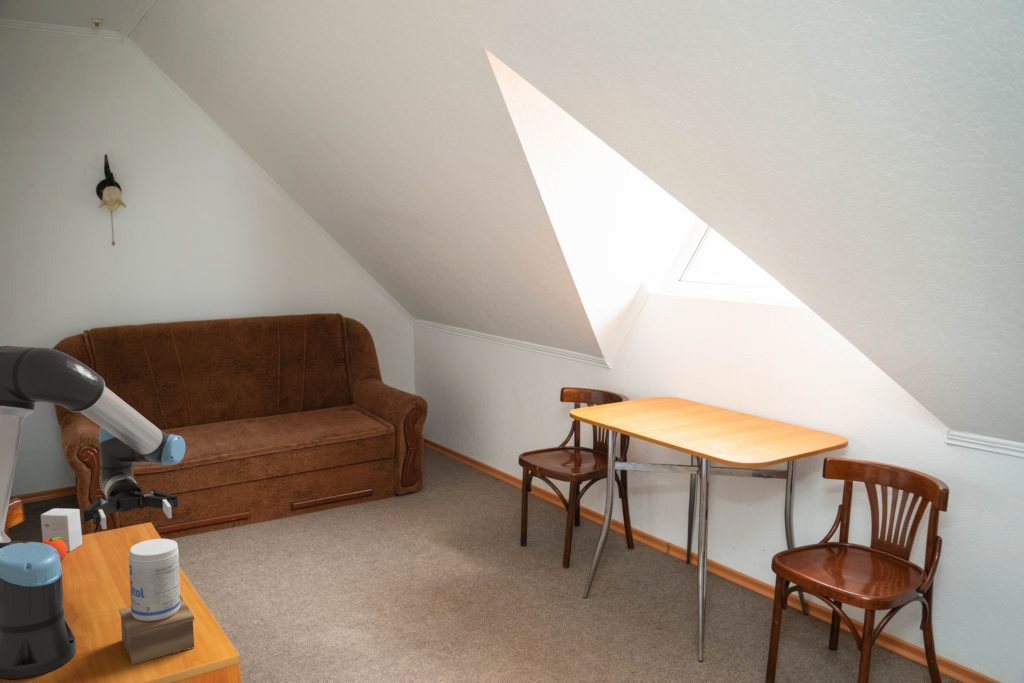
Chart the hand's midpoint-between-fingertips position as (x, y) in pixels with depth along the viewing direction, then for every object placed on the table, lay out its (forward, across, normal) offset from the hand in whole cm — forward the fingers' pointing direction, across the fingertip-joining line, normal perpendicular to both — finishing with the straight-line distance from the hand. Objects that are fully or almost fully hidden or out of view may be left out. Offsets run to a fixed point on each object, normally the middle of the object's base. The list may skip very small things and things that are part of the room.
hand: (137, 517), depth 179 cm
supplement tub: (+16, 0, -16) cm, 23 cm away
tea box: (+16, 0, -23) cm, 28 cm away
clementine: (-44, +14, -23) cm, 52 cm away
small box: (-55, +12, -23) cm, 61 cm away
